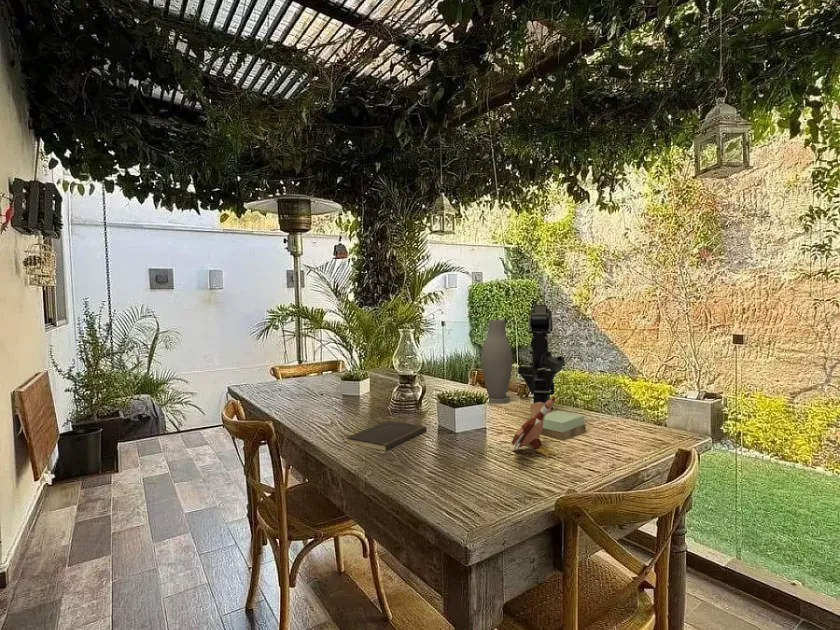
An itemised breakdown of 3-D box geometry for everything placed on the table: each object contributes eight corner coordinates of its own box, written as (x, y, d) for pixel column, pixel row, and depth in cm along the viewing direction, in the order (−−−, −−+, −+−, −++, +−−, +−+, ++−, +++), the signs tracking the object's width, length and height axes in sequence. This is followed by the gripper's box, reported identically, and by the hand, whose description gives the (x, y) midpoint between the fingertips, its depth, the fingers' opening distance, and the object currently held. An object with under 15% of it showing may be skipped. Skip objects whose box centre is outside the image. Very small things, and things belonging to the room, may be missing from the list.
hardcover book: (345, 444, 147) (345, 437, 147) (388, 426, 167) (388, 420, 167) (386, 453, 139) (386, 445, 139) (426, 433, 158) (426, 426, 158)
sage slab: (557, 418, 161) (557, 410, 161) (584, 424, 154) (584, 415, 153) (535, 426, 153) (535, 417, 153) (562, 432, 145) (562, 423, 145)
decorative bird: (566, 464, 115) (542, 406, 117) (501, 480, 124) (480, 426, 126) (586, 433, 140) (566, 386, 142) (531, 449, 148) (513, 404, 151)
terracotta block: (539, 417, 173) (539, 401, 172) (550, 420, 169) (550, 404, 169) (530, 420, 170) (530, 404, 169) (542, 423, 166) (542, 406, 165)
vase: (481, 404, 196) (479, 321, 195) (482, 397, 209) (480, 319, 208) (513, 404, 194) (511, 320, 193) (512, 397, 207) (511, 319, 206)
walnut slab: (559, 427, 161) (559, 418, 161) (585, 433, 153) (585, 424, 153) (536, 435, 153) (536, 426, 153) (562, 442, 145) (562, 432, 145)
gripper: (542, 353, 156) (543, 399, 157) (574, 348, 168) (574, 391, 168) (516, 350, 165) (517, 394, 165) (548, 345, 176) (549, 386, 177)
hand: (540, 391), depth 169 cm, fingers open, 9 cm apart
